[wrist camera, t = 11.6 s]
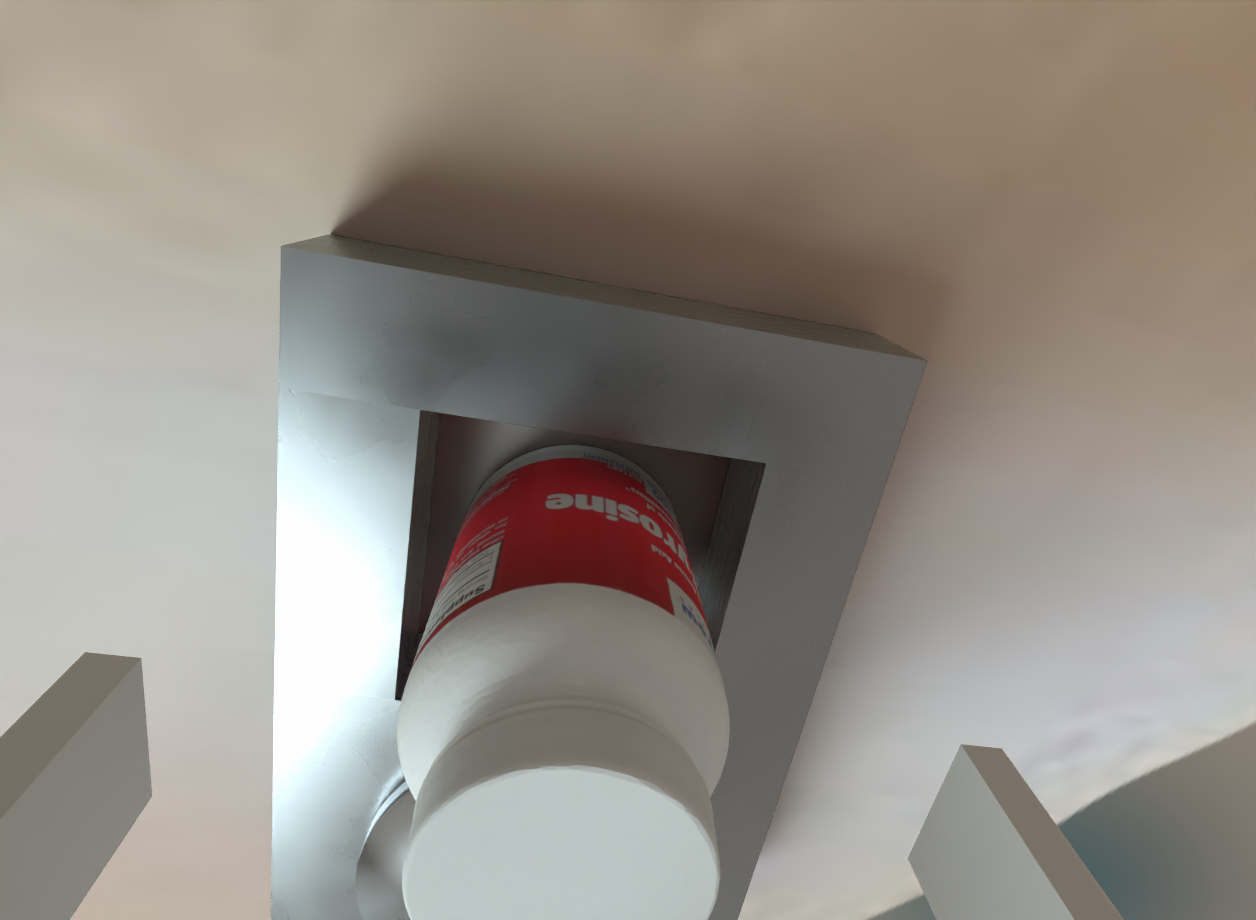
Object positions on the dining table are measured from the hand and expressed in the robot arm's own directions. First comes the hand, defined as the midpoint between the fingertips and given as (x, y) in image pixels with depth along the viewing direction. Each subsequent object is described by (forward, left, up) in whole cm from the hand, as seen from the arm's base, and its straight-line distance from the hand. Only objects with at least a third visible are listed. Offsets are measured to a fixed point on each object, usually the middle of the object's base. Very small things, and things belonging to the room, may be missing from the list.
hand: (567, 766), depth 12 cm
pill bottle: (+1, 0, -10) cm, 10 cm away
